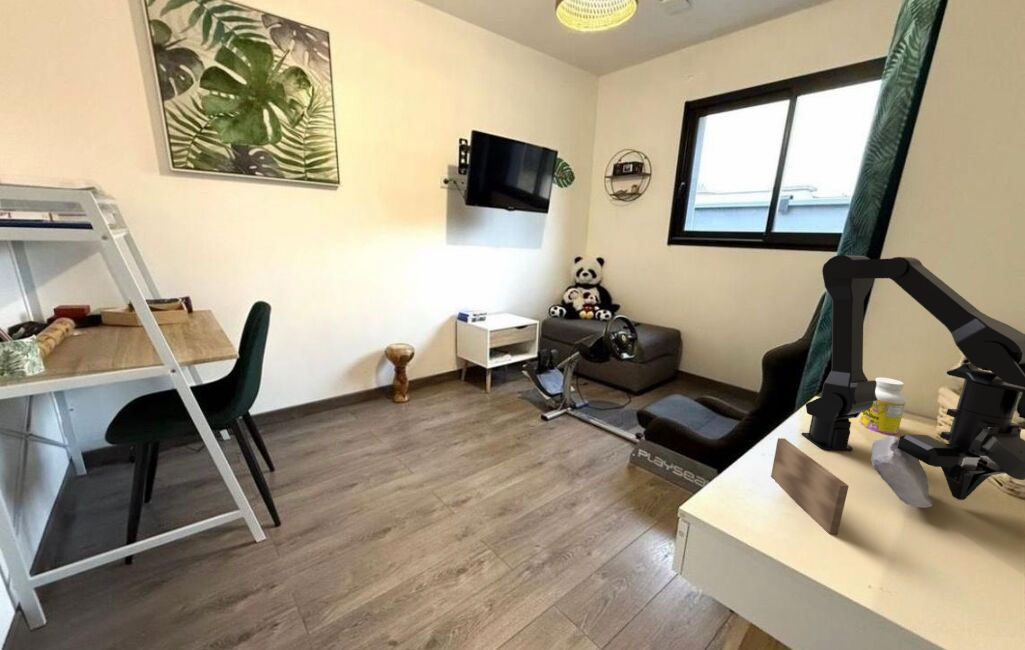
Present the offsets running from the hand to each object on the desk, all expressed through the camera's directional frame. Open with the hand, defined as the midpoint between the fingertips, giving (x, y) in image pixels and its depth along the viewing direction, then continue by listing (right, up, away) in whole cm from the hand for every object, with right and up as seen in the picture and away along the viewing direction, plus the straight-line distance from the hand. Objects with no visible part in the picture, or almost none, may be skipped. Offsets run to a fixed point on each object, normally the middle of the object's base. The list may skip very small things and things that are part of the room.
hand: (958, 498), depth 65 cm
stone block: (-6, -1, 0) cm, 7 cm away
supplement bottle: (+11, +3, +27) cm, 29 cm away
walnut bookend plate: (-26, -1, 0) cm, 26 cm away
